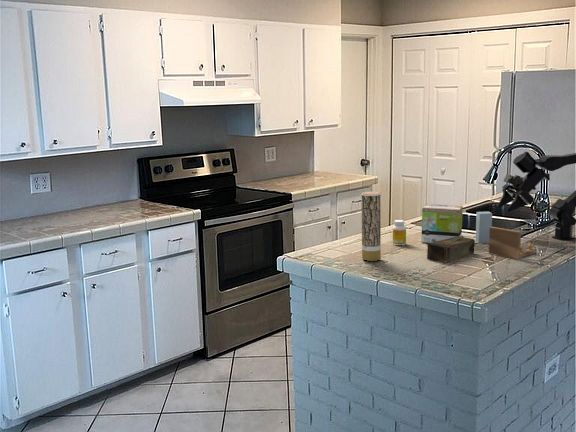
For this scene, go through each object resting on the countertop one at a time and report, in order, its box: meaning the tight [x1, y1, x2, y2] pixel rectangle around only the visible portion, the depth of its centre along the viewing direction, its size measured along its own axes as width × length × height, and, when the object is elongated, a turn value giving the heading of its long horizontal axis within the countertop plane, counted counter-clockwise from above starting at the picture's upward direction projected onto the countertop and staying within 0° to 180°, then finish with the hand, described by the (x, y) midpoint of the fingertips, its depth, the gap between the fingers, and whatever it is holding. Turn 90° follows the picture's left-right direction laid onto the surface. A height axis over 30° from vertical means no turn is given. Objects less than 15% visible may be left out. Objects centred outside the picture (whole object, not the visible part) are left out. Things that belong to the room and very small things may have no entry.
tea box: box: [421, 203, 464, 244], centre depth 249 cm, size 15×10×15 cm
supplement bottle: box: [392, 219, 407, 246], centre depth 247 cm, size 5×5×10 cm
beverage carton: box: [426, 235, 476, 264], centre depth 227 cm, size 8×19×7 cm, turn 128°
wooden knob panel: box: [488, 226, 537, 260], centre depth 228 cm, size 13×12×10 cm
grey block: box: [475, 211, 493, 244], centre depth 246 cm, size 5×4×12 cm
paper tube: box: [361, 191, 382, 262], centre depth 224 cm, size 7×7×25 cm
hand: (502, 209), depth 245 cm, fingers open, 9 cm apart
